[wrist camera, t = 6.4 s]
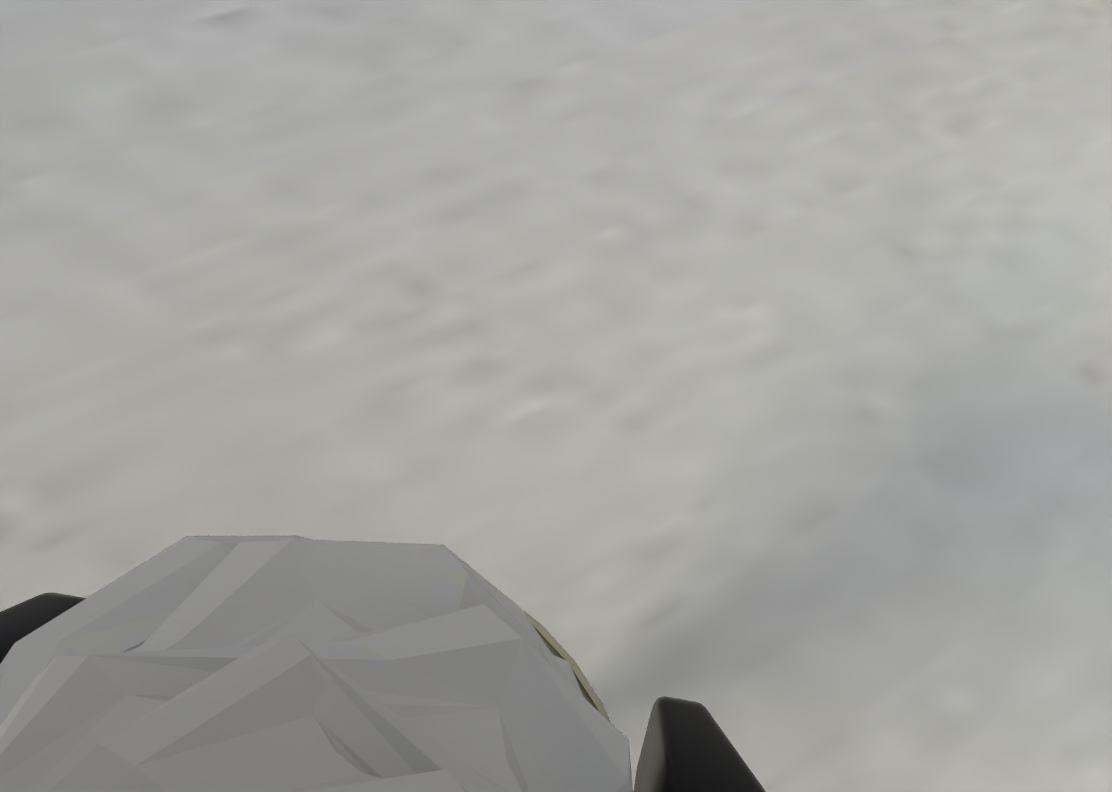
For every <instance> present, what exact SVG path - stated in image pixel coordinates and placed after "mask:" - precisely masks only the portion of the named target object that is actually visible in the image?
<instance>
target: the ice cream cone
mask: <svg viewBox="0 0 1112 792" xmlns="http://www.w3.org/2000/svg"><path fill="white" fill-rule="evenodd" d="M0 792H633V789H632V776H631V764H630V751H629V740H628V739H627V738H626V737H625V736H624V735H623V734H622V733H621V732H619V731H618V730H617V729H616V728H615V727H614V726H613V725H612V724H611V723H610V720H609V718H608V716H607V713H606V711H605V709H604V707H603V704H602V702H601V701H600V699H599V698H598V696H597V695H596V693H595V692H594V690H593V688H592V687H591V685H590V684H589V682H588V681H587V679H586V678H585V676H584V675H583V673H582V671H581V670H580V668H579V667H578V665H577V664H576V662H575V661H574V659H573V658H572V657H571V656H570V655H569V654H568V653H567V652H566V651H565V650H564V649H563V647H562V646H561V645H560V644H559V643H558V642H557V641H556V640H555V639H554V638H553V637H552V636H551V634H550V633H549V632H548V631H547V630H546V629H545V628H544V627H543V626H542V625H541V624H540V623H539V622H538V621H536V620H535V619H534V618H532V617H531V616H530V615H529V614H527V613H526V612H525V611H523V610H522V609H521V608H520V607H519V606H518V605H517V604H515V603H514V602H513V601H512V600H510V599H509V598H508V597H507V596H505V595H504V594H503V593H502V592H501V591H499V590H498V589H497V588H496V587H494V586H493V585H492V584H491V583H490V582H488V581H487V580H486V579H485V578H483V577H482V576H481V575H480V574H479V573H477V572H476V571H475V570H474V569H472V568H471V567H470V566H469V565H467V564H466V563H465V562H464V561H463V560H461V559H460V558H459V557H458V556H456V555H455V554H454V553H453V552H452V551H450V550H449V549H448V548H447V547H445V546H444V545H436V544H409V543H383V542H356V541H330V540H312V539H308V538H304V537H300V536H186V537H184V538H183V539H181V540H180V541H178V542H176V543H175V544H173V545H172V546H170V547H168V548H167V549H165V550H164V551H162V552H160V553H159V554H157V555H155V556H154V557H152V558H151V559H149V560H147V561H146V562H144V563H143V564H141V565H139V566H138V567H136V568H135V569H133V570H131V571H130V572H128V573H127V574H125V575H123V576H122V577H120V578H118V579H117V580H115V581H114V582H112V583H110V584H109V585H107V586H106V587H104V588H102V589H101V590H99V591H98V592H96V593H94V594H93V595H91V596H89V597H88V598H86V599H85V600H83V601H81V602H80V603H78V604H77V605H75V606H73V607H72V608H70V609H69V610H67V611H65V612H64V613H62V614H61V615H59V616H57V617H56V618H54V619H52V620H51V621H49V622H48V623H46V624H44V625H43V626H41V627H40V628H38V629H36V630H35V631H33V632H32V633H30V634H28V635H27V636H25V637H23V638H22V639H20V640H19V641H17V642H15V643H14V645H13V646H12V648H11V649H10V651H9V652H8V654H7V655H6V656H5V658H4V659H3V661H2V662H1V664H0Z"/></svg>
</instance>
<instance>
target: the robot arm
mask: <svg viewBox="0 0 1112 792" xmlns="http://www.w3.org/2000/svg"><path fill="white" fill-rule="evenodd" d="M85 599H86V598H82V597H76V596H70V595H64V594H58V593H44V594H42V595H39V596H36V597H34V598H32V599H29V600H27V601H25V602H22V603H20V604H18V605H15V606H13V607H11V608H8V609H6V610H4V611H2V612H0V664H1V662H2V661H3V659H4V658H5V656H6V655H7V654H8V652H9V651H10V649H11V648H12V646H13V645H14V643H15V642H17V641H19V640H20V639H22V638H23V637H25V636H27V635H28V634H30V633H32V632H33V631H35V630H36V629H38V628H40V627H41V626H43V625H44V624H46V623H48V622H49V621H51V620H52V619H54V618H56V617H57V616H59V615H61V614H62V613H64V612H65V611H67V610H69V609H70V608H72V607H73V606H75V605H77V604H78V603H80V602H81V601H83V600H85ZM634 792H766V791H765V790H764V789H763V787H762V786H761V784H760V783H759V782H758V780H757V779H756V777H755V776H754V775H753V773H752V772H751V770H750V769H749V768H748V766H747V765H746V763H745V762H744V761H743V759H742V758H741V756H740V755H739V754H738V752H737V751H736V750H735V748H734V747H733V745H732V744H731V743H730V741H729V740H728V738H727V737H726V736H725V734H724V733H723V731H722V730H721V729H720V727H719V726H718V724H717V723H716V722H715V720H714V719H713V717H712V716H711V715H710V713H709V712H708V710H707V709H706V708H705V707H704V706H703V705H702V704H700V703H698V702H694V701H688V700H682V699H676V698H671V697H660V698H658V699H657V700H656V701H655V703H654V705H653V708H652V711H651V715H650V719H649V723H648V727H647V731H646V735H645V738H644V742H643V746H642V750H641V754H640V758H639V762H638V766H637V771H636V777H635V785H634Z"/></svg>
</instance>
